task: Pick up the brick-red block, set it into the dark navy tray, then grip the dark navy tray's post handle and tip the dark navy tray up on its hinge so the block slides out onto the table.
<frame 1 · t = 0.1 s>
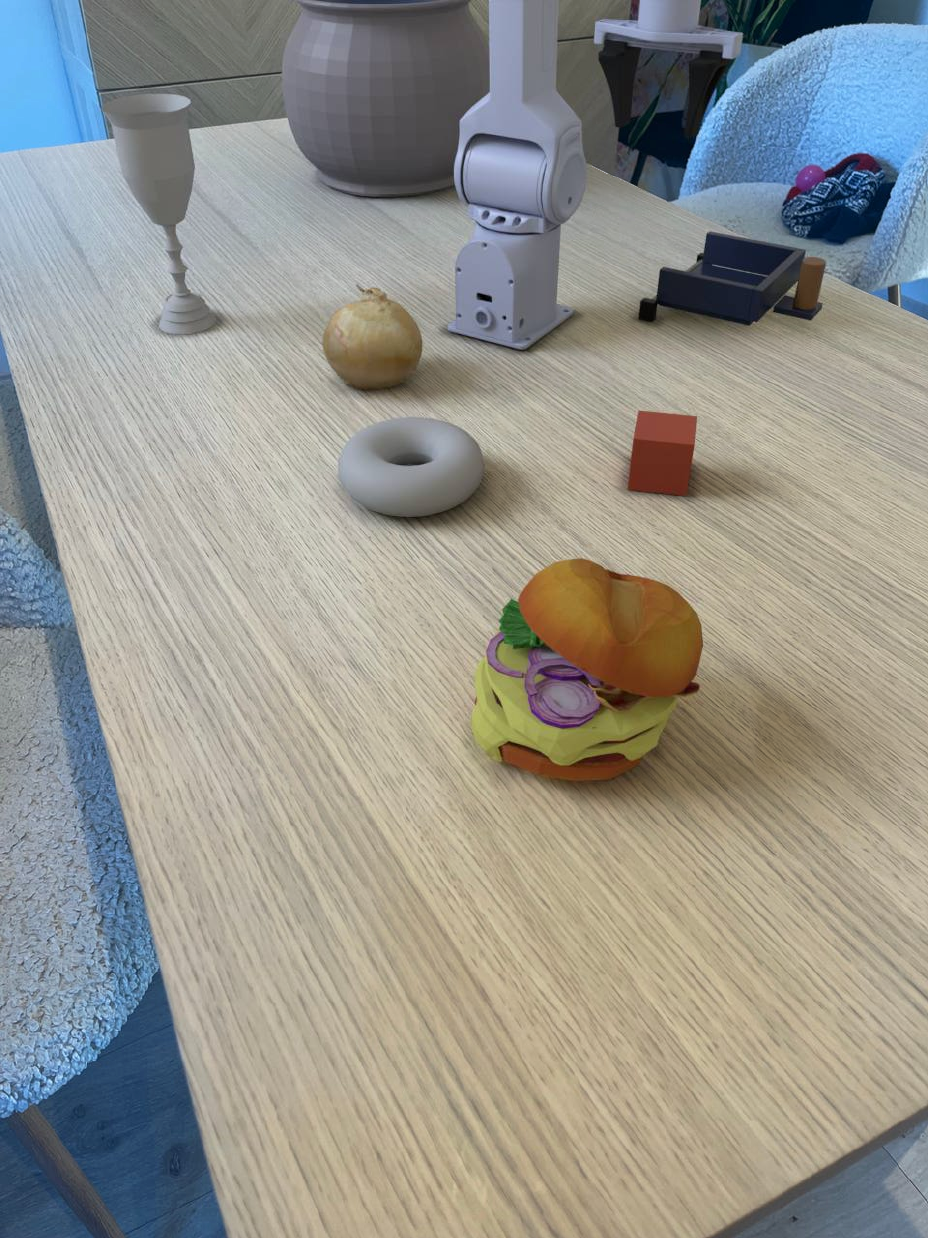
hand: (656, 130, 103), 10 cm above the table, tool pointing down, fingers open, 7 cm apart
black bar: (676, 295, 96), on the table
grey pot: (393, 177, 125), on the table
block: (658, 478, 70), on the table
cheeseburger: (575, 721, 52), on the table
chalice: (187, 324, 91), on the table
dark navy tray: (747, 275, 91), point 3 cm above the table, hinge at -0.1°
donut: (412, 488, 70), on the table
onion: (375, 380, 83), on the table
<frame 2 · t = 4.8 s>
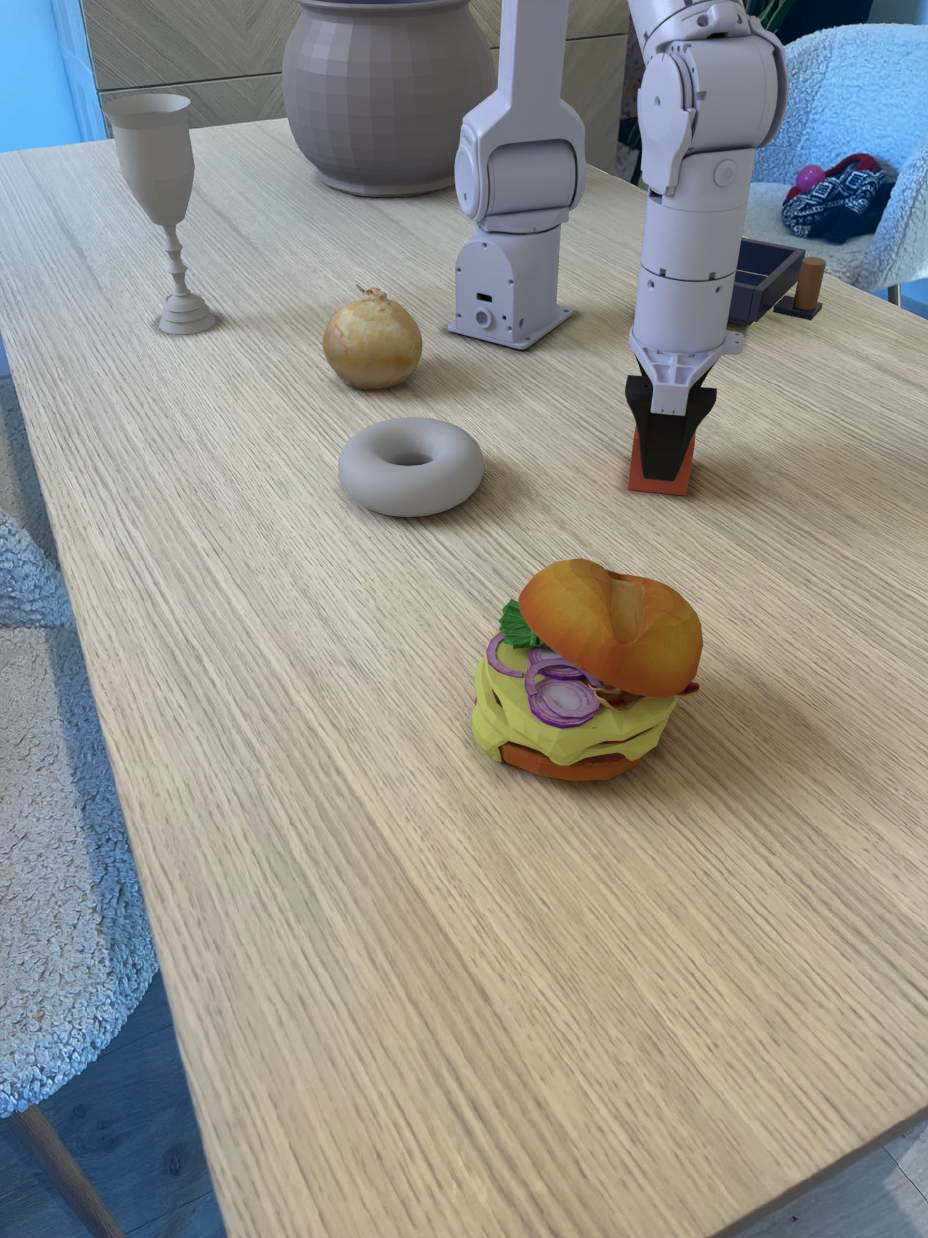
hand: (661, 460, 70), 1 cm above the table, tool pointing down, fingers closed on block, 4 cm apart
block: (658, 477, 70), on the table, touching gripper
everything else where it was.
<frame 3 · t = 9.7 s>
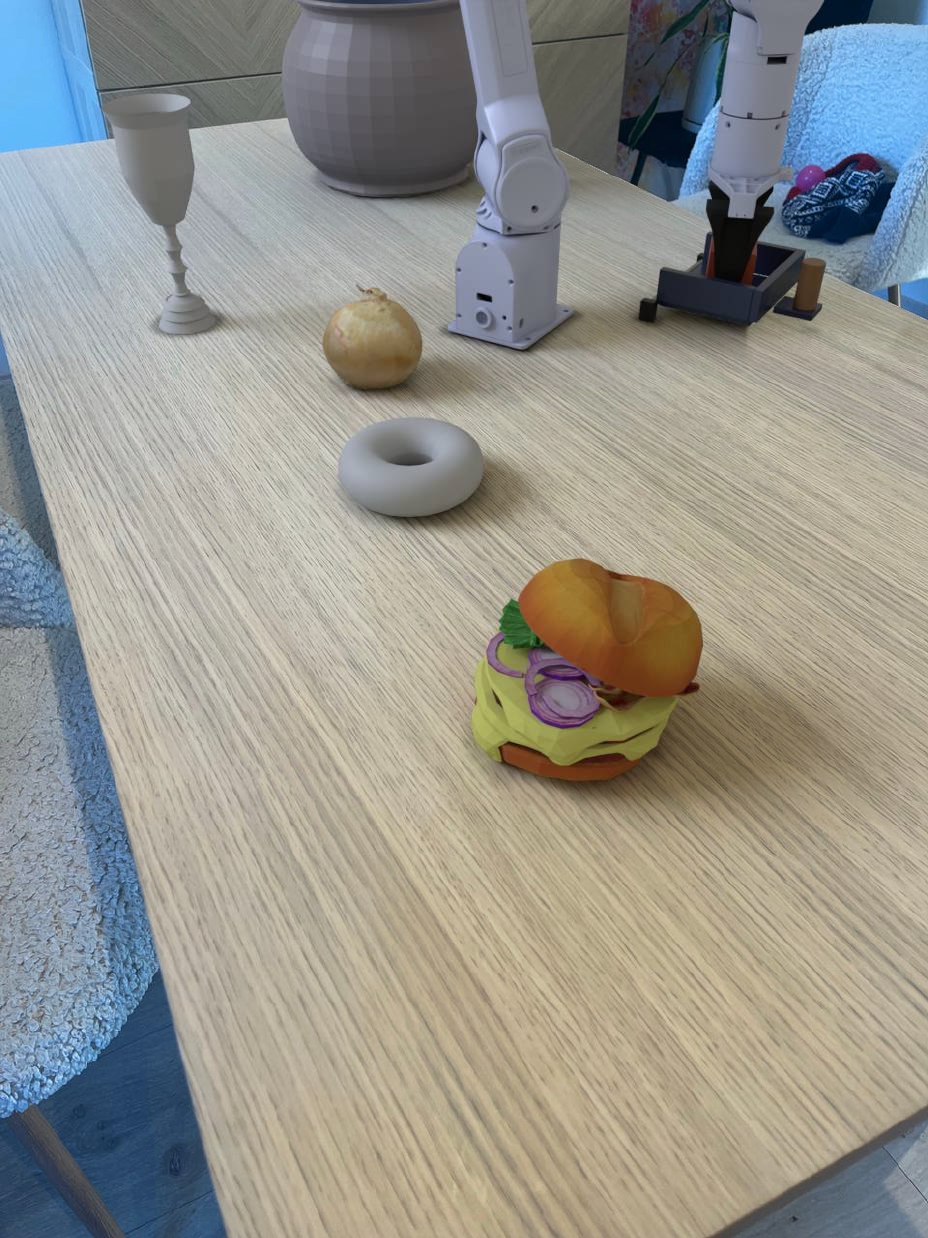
hand: (727, 274, 92), 3 cm above the table, tool pointing down, fingers closed on block, 4 cm apart
block: (726, 288, 93), point 2 cm above the table, touching dark navy tray, gripper
dark navy tray: (747, 275, 91), point 3 cm above the table, hinge at -0.4°, touching block
everything else where it was.
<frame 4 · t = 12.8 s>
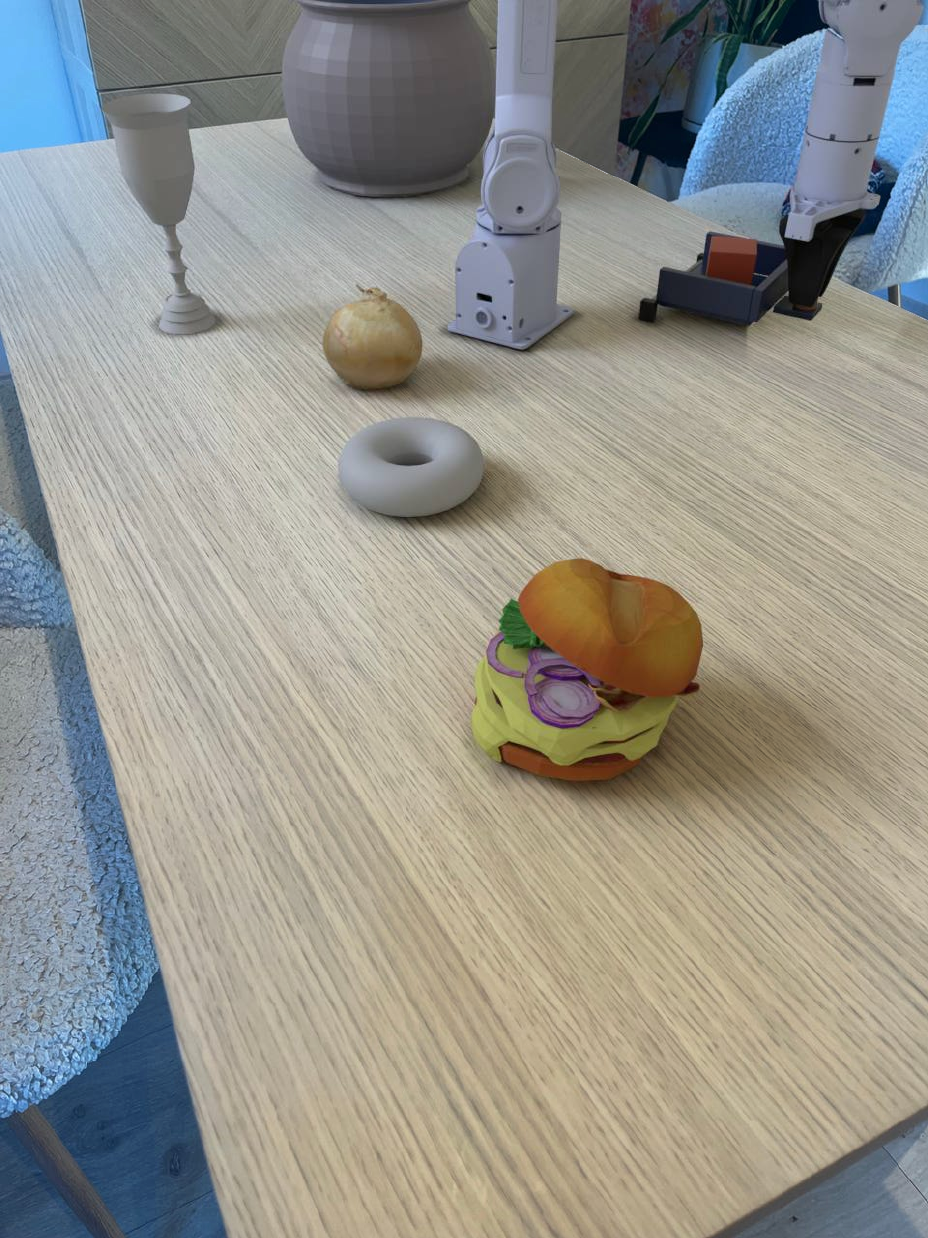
hand: (805, 298, 89), 2 cm above the table, tool pointing down, fingers closed on dark navy tray, 2 cm apart
block: (726, 288, 93), point 2 cm above the table, touching dark navy tray
dark navy tray: (747, 275, 91), point 3 cm above the table, hinge at -0.2°, touching block, gripper
everything else where it was.
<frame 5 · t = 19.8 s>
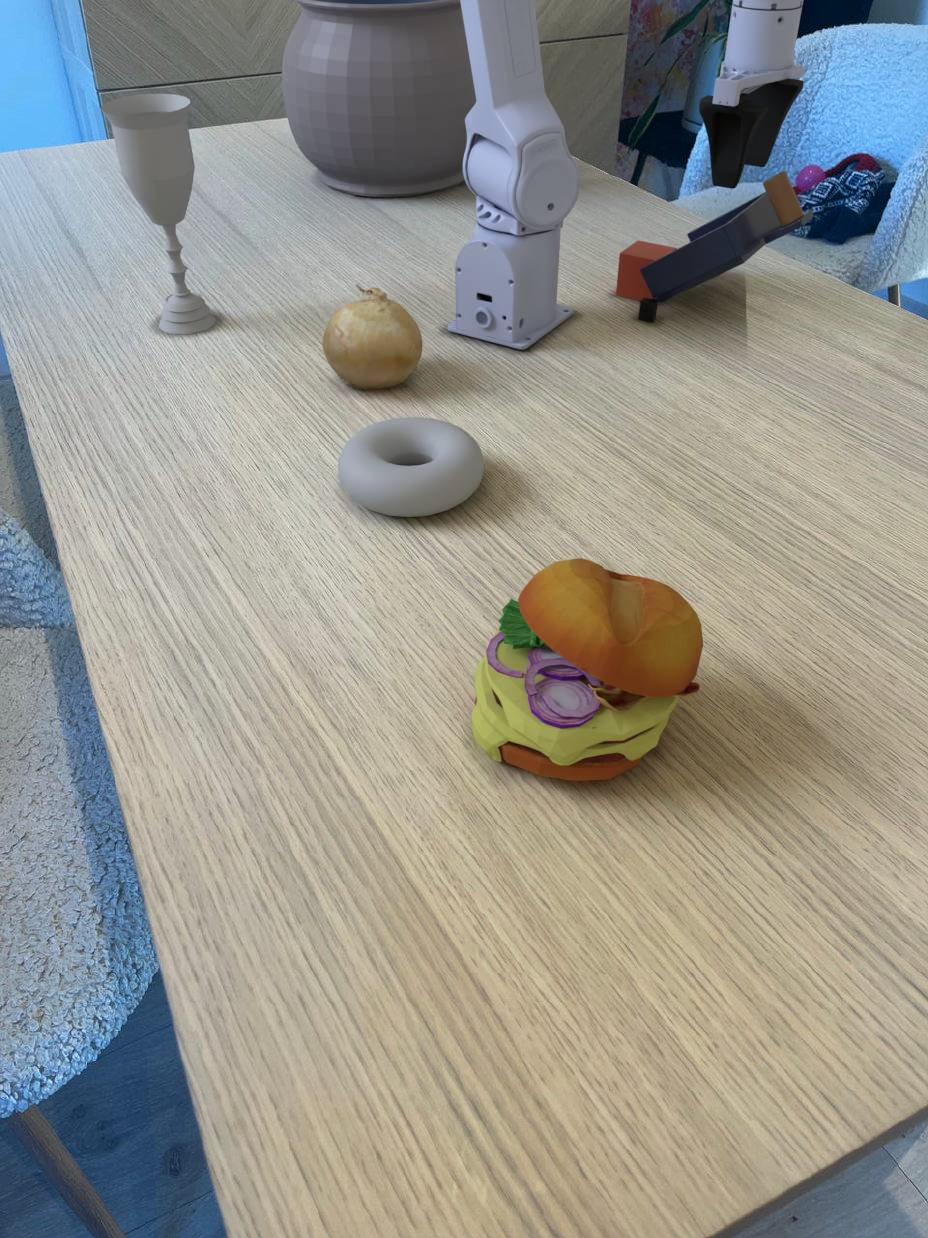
hand: (739, 175, 93), 9 cm above the table, tool pointing down, fingers open, 7 cm apart
block: (665, 275, 94), point 2 cm above the table, tilted 90°
dark navy tray: (728, 232, 90), point 7 cm above the table, hinge at 35.6°
everything else where it was.
at the end: block inside the target area on the dark navy tray (3.5 cm from its centre), point 1.8 cm above the dark navy tray's base; dark navy tray reached +42° during the clip, +36° at the end; the gripper is holding nothing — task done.
